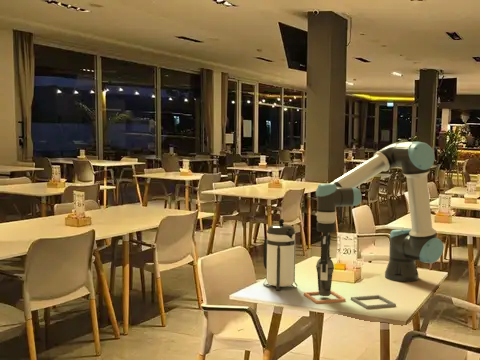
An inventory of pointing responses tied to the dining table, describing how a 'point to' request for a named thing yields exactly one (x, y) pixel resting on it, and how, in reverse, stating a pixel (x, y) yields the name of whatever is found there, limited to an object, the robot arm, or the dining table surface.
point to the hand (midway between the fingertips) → (324, 277)
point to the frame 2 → (390, 304)
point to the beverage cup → (325, 285)
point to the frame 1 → (324, 300)
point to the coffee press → (280, 255)
